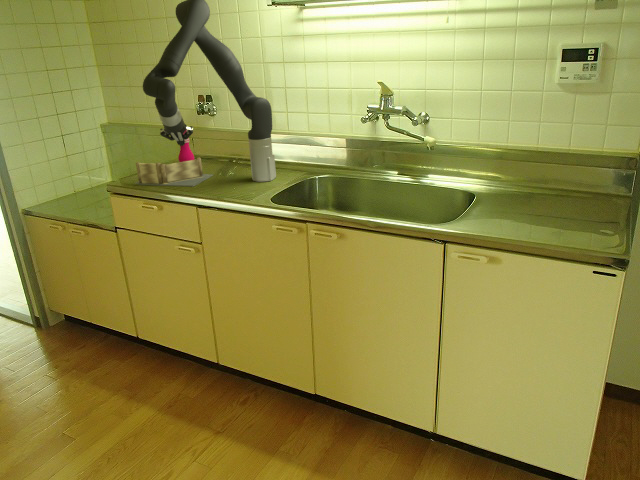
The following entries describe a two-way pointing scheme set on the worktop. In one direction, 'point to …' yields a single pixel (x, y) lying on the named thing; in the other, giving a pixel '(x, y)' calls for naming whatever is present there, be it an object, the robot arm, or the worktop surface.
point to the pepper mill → (185, 152)
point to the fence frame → (149, 173)
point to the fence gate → (181, 170)
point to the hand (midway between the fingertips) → (181, 143)
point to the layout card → (182, 181)
